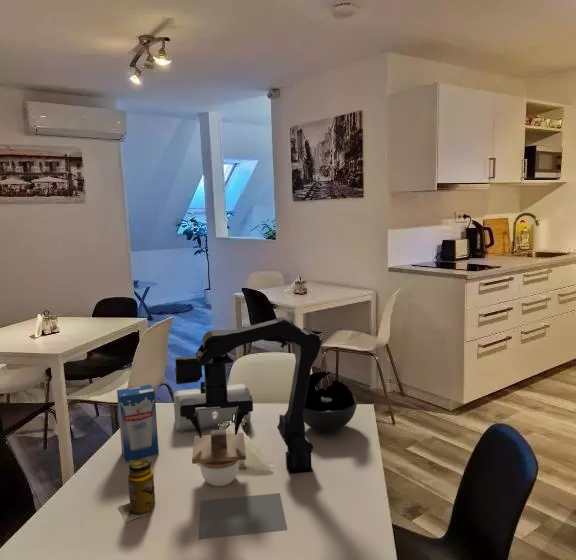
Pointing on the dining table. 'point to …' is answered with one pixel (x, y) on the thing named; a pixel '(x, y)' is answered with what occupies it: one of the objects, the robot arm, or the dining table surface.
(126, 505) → the condiment
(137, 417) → the milk carton
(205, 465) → the lidded jar
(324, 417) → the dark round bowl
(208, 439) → the lid
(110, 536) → the dining table surface
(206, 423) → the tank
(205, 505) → the mat
